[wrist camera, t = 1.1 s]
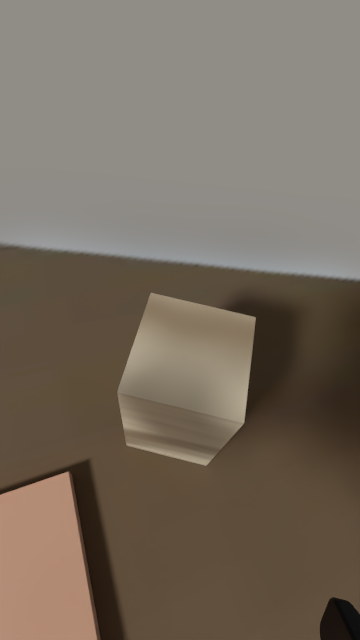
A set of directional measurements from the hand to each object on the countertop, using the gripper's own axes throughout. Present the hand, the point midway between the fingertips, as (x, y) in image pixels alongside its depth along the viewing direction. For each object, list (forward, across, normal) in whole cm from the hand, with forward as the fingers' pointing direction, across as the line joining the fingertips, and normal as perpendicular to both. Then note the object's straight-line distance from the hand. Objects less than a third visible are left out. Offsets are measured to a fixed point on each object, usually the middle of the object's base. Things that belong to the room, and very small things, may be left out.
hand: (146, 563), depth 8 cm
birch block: (+15, 0, +4) cm, 16 cm away
